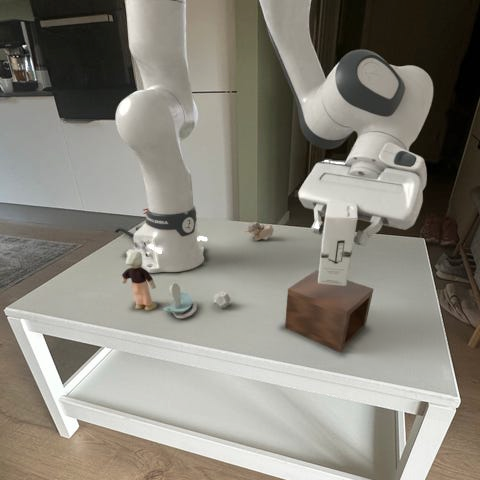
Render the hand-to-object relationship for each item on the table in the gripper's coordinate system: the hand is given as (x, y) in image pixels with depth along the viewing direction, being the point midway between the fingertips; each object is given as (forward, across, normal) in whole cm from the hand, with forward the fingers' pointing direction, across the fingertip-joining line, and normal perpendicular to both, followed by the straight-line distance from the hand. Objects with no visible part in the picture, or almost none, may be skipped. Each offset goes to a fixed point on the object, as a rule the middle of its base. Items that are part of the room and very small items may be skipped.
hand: (336, 237), depth 61 cm
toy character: (-7, -39, +33) cm, 52 cm away
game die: (+18, -21, +9) cm, 29 cm away
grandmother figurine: (+26, -34, +1) cm, 43 cm away
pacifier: (+23, -26, +4) cm, 35 cm away
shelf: (+13, 0, +14) cm, 19 cm away
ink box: (+5, 0, +5) cm, 7 cm away
